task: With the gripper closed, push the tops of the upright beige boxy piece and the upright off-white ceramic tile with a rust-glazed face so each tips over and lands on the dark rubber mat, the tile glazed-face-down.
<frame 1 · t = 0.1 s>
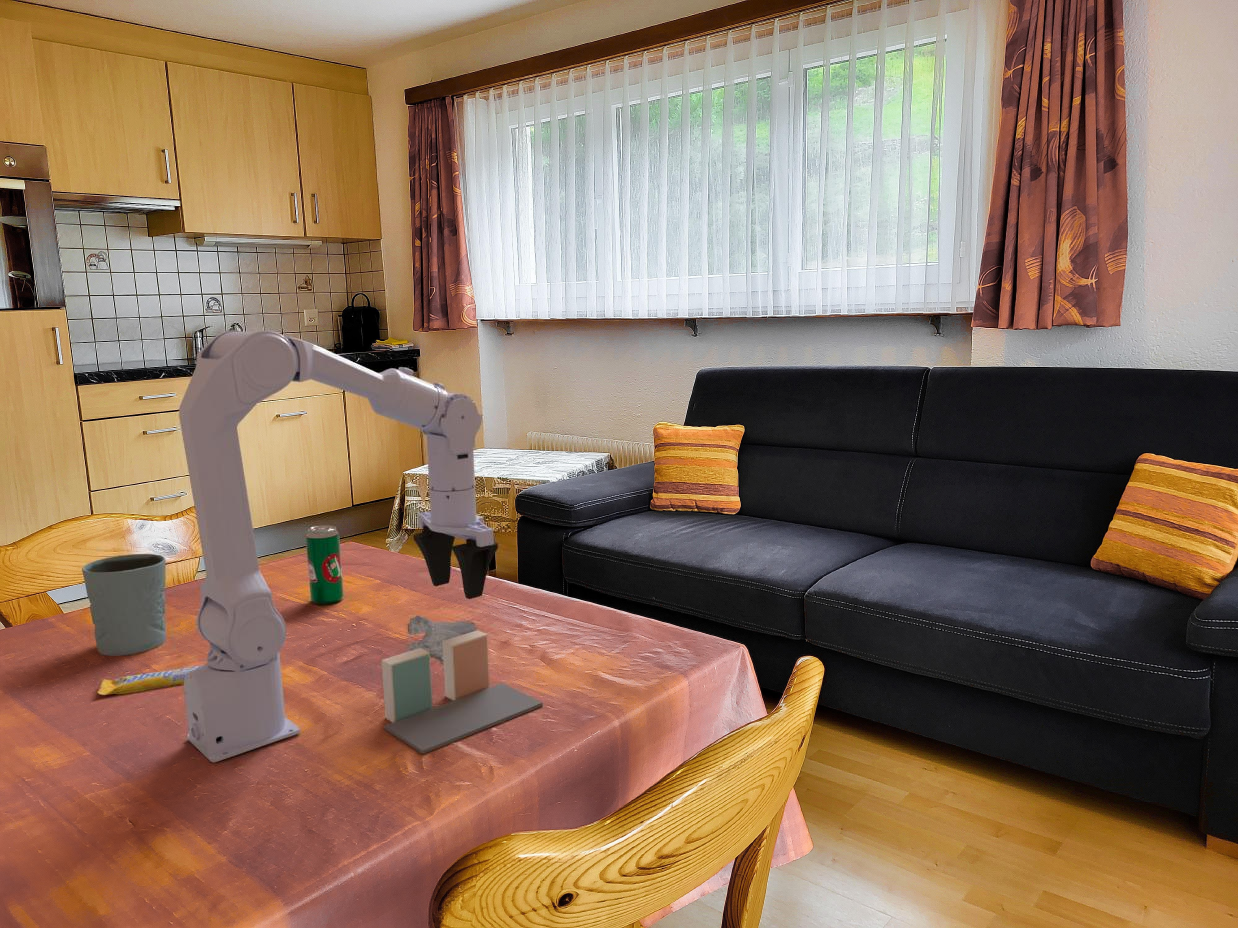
hand: (457, 590, 114), 10 cm above the table, tool pointing down, fingers open, 7 cm apart
candy bar: (176, 685, 112), on the table
grey green cup: (134, 645, 125), on the table
beige boxy piece: (409, 713, 102), on the table
soda can: (327, 601, 143), on the table
mat: (465, 717, 100), on the table
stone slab: (441, 646, 124), on the table
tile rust: (467, 692, 107), on the table
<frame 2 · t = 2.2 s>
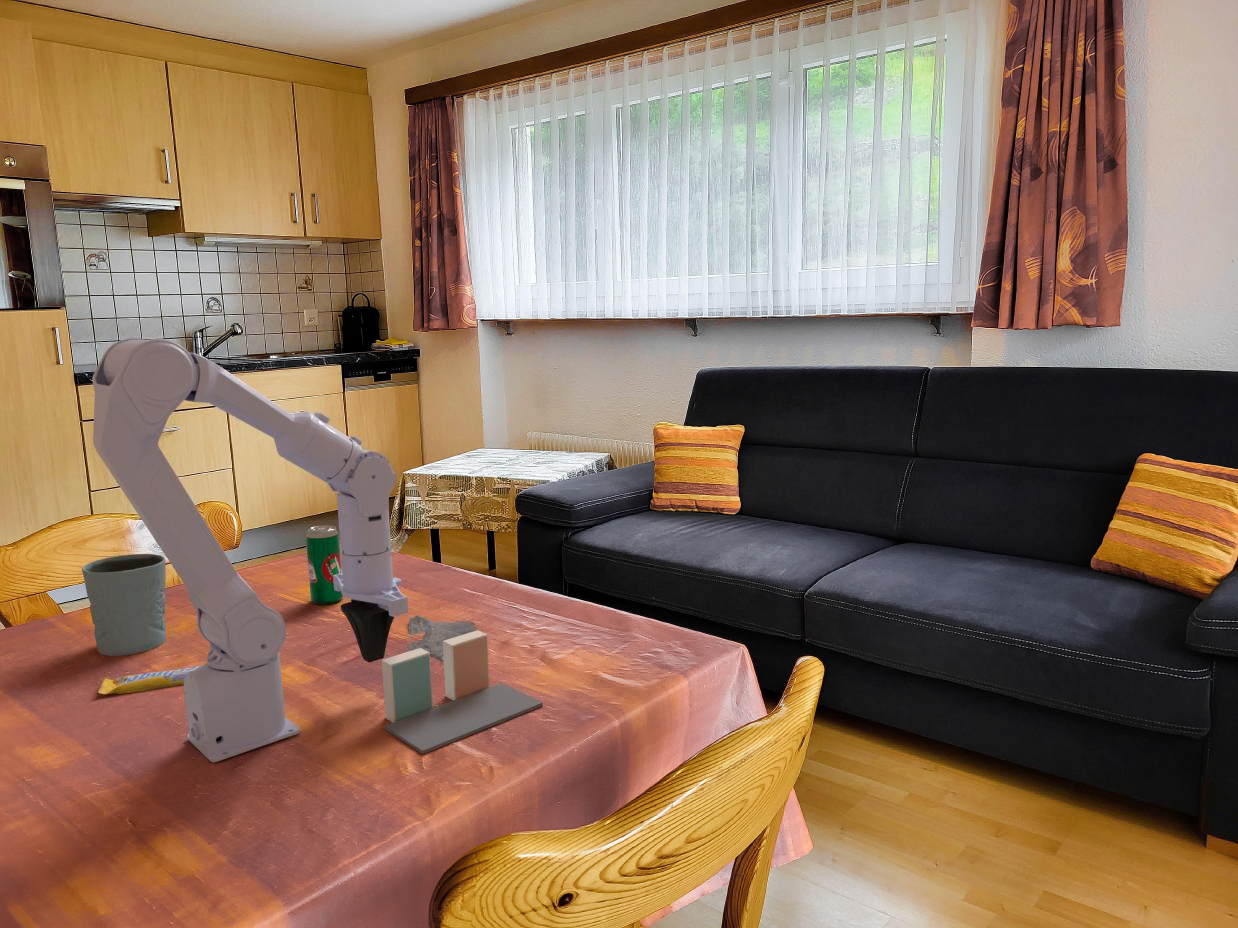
hand: (373, 658, 107), 4 cm above the table, tool pointing down, fingers closed
nothing on the table moved.
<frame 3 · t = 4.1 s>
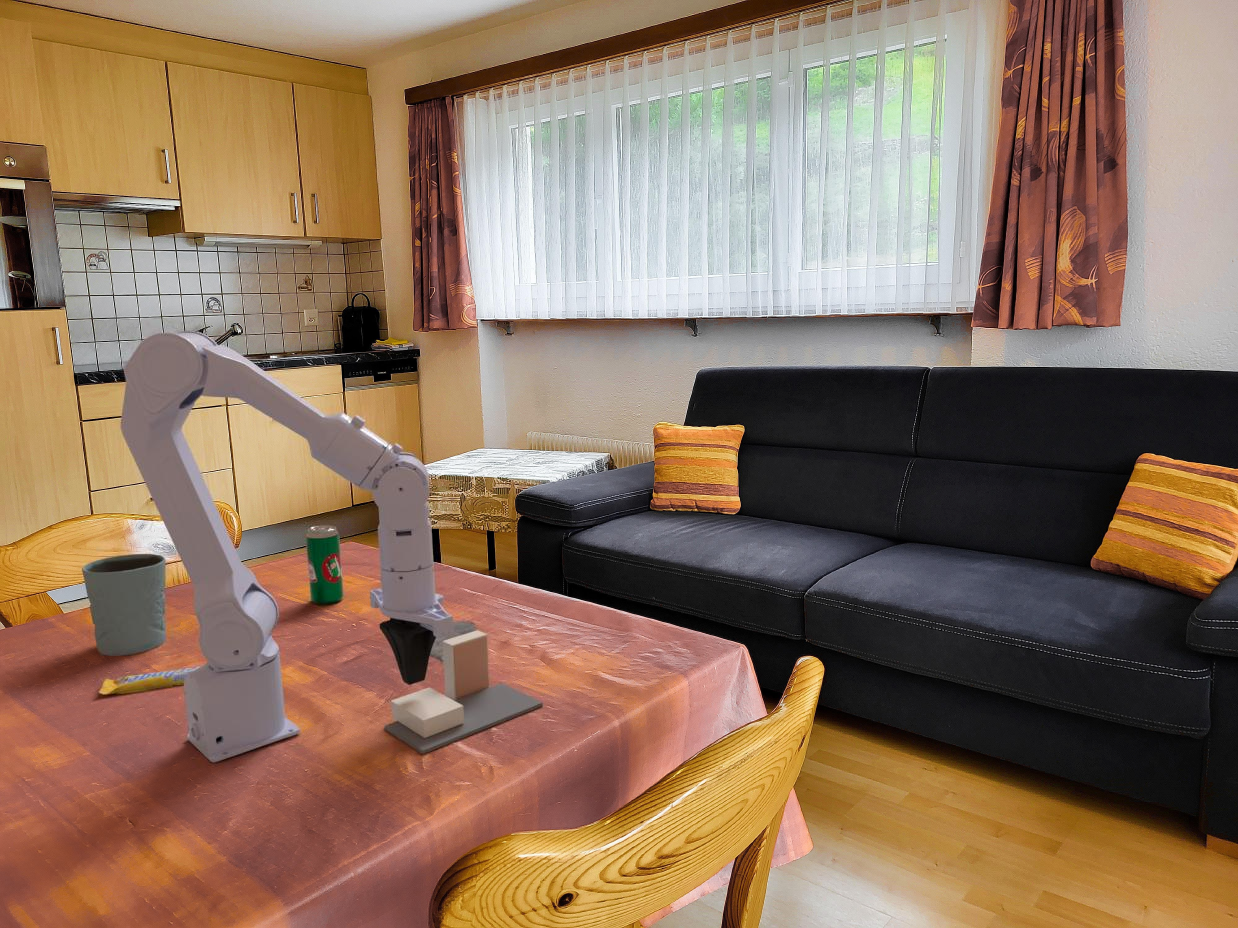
hand: (414, 680, 100), 4 cm above the table, tool pointing down, fingers closed
beige boxy piece: (410, 701, 101), point 2 cm above the table, tilted 90°, touching mat
everything else where it was.
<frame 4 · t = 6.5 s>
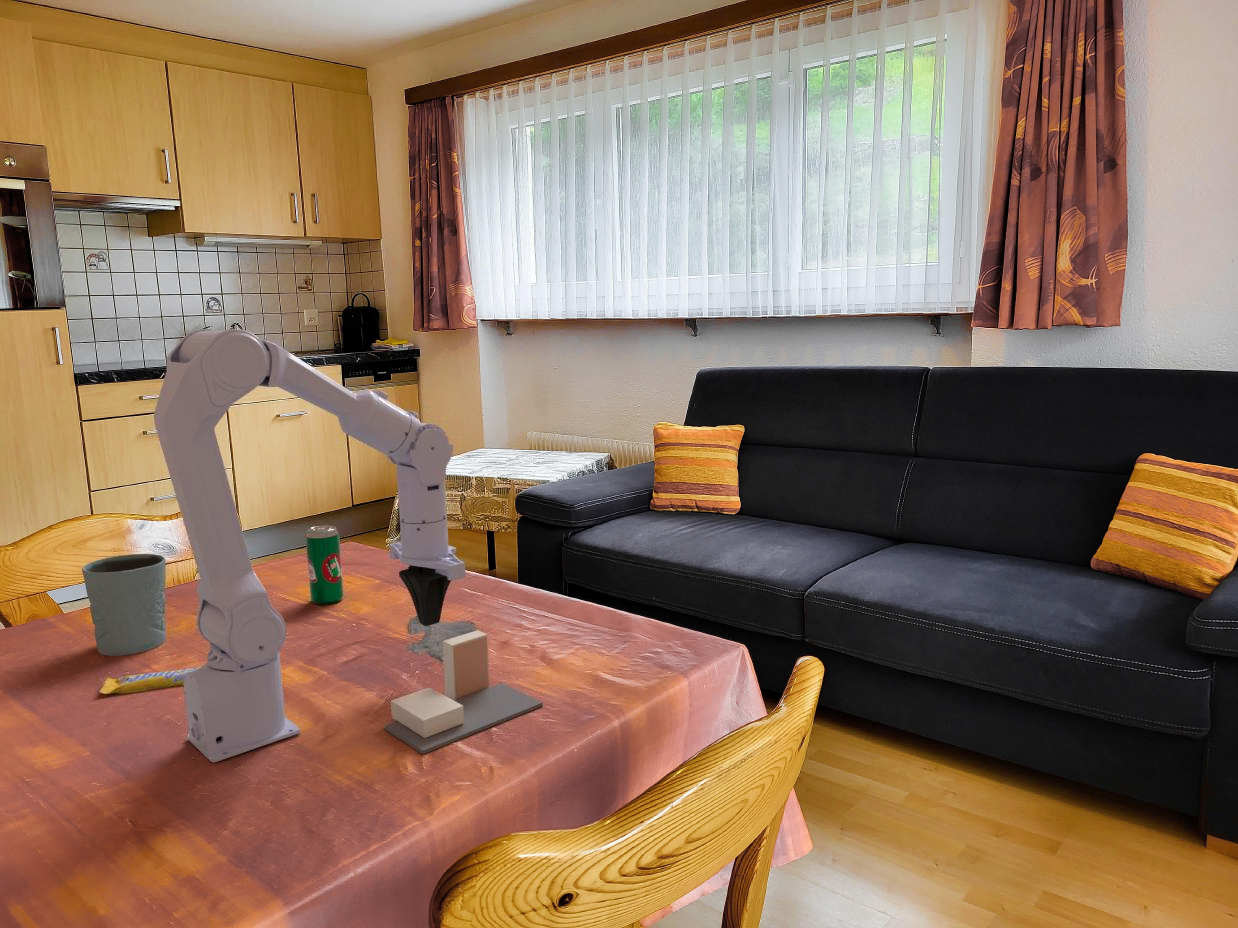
hand: (429, 623, 112), 7 cm above the table, tool pointing down, fingers closed
nothing on the table moved.
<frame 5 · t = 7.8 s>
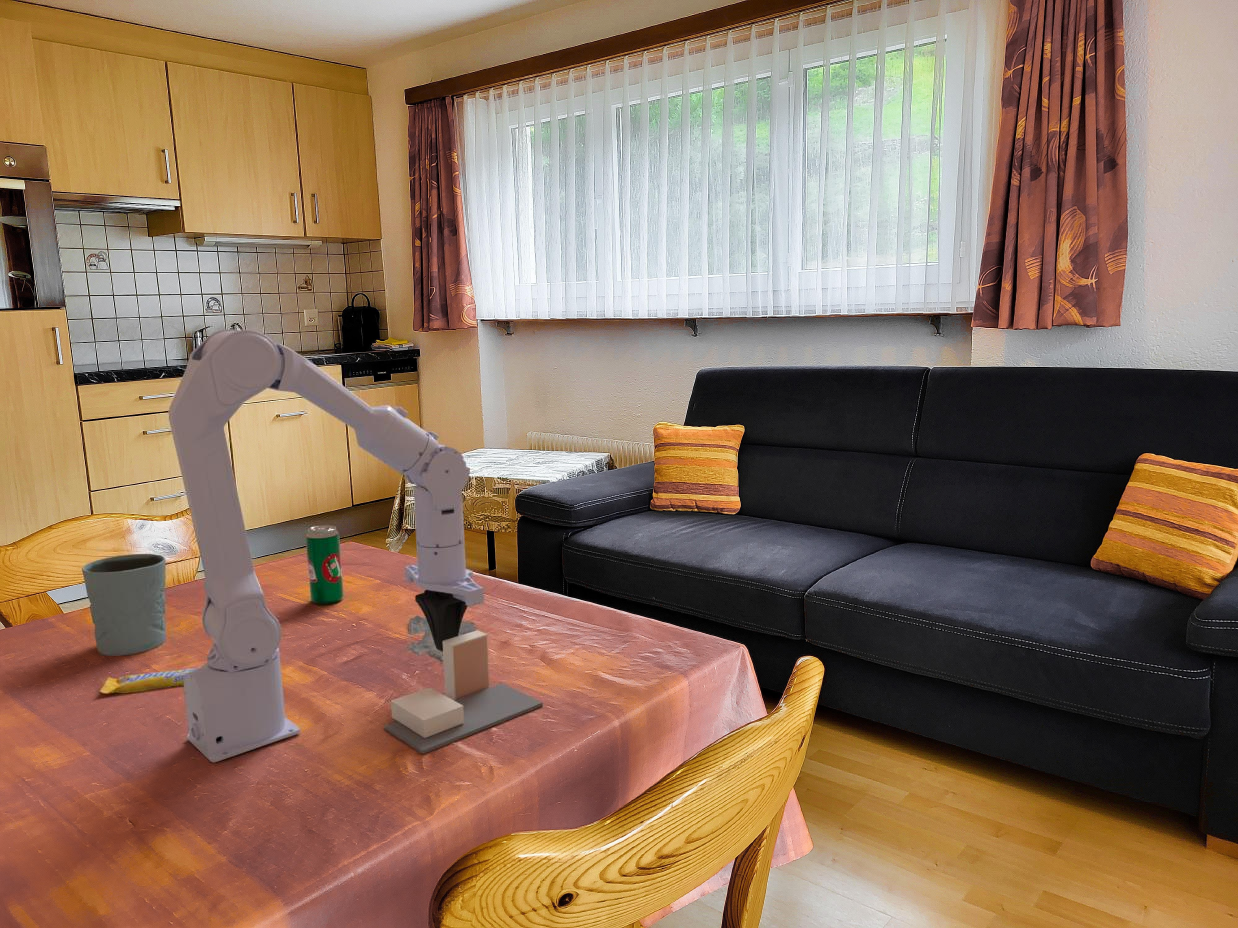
hand: (446, 648, 109), 4 cm above the table, tool pointing down, fingers closed
nothing on the table moved.
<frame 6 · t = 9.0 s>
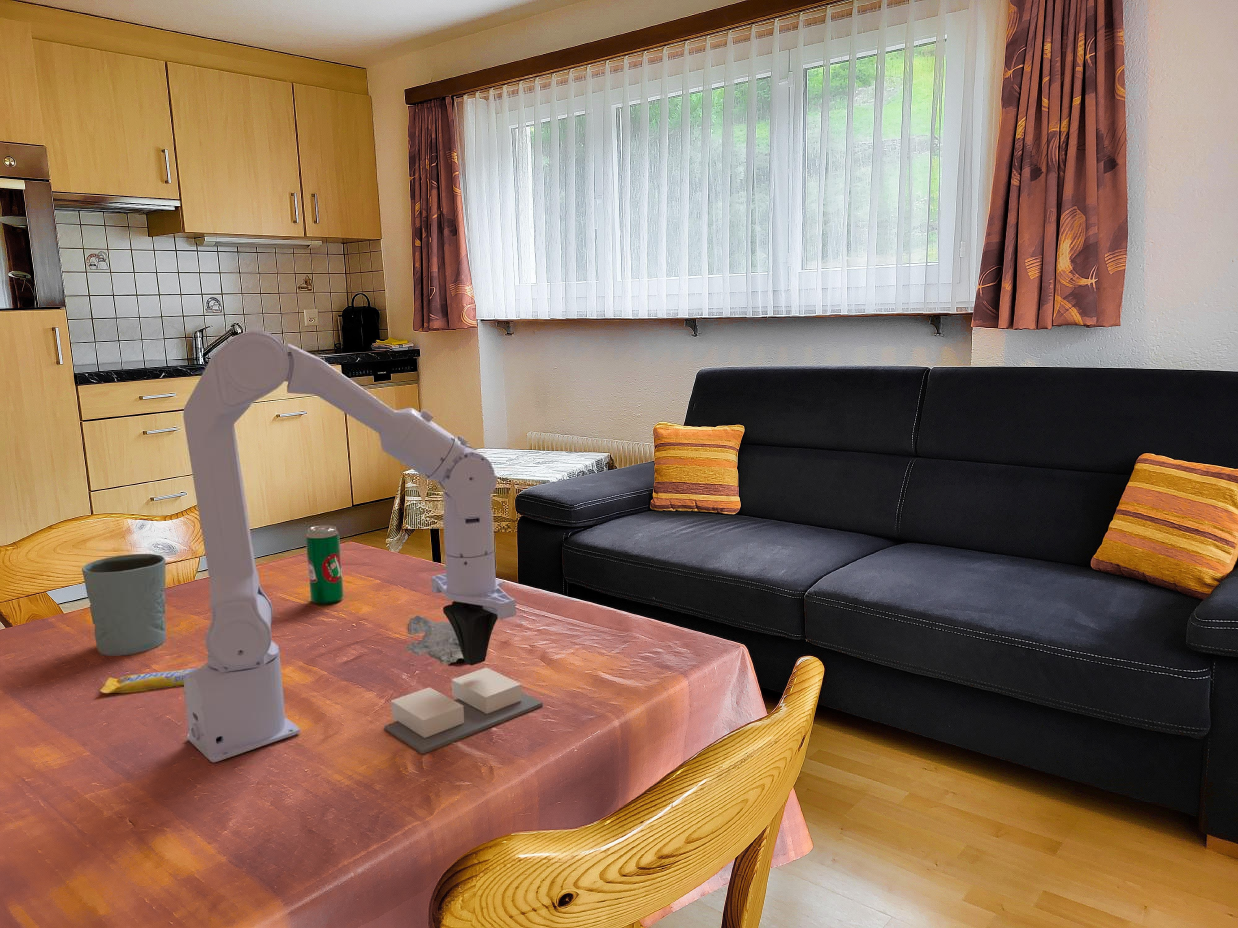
hand: (475, 661, 105), 4 cm above the table, tool pointing down, fingers closed
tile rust: (469, 681, 106), point 2 cm above the table, tilted 90°, touching mat
everything else where it was.
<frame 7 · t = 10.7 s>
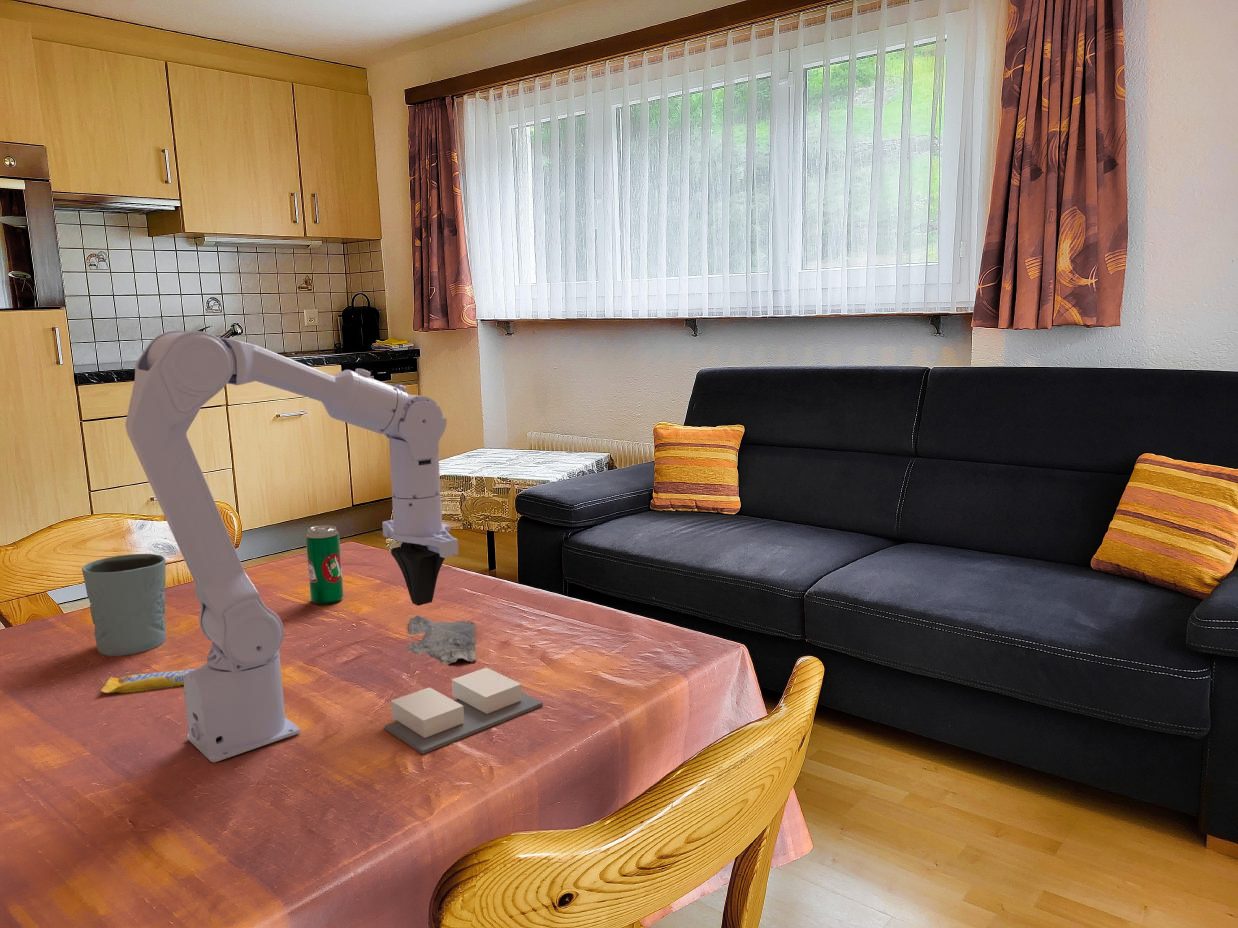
hand: (422, 602, 109), 10 cm above the table, tool pointing down, fingers closed
nothing on the table moved.
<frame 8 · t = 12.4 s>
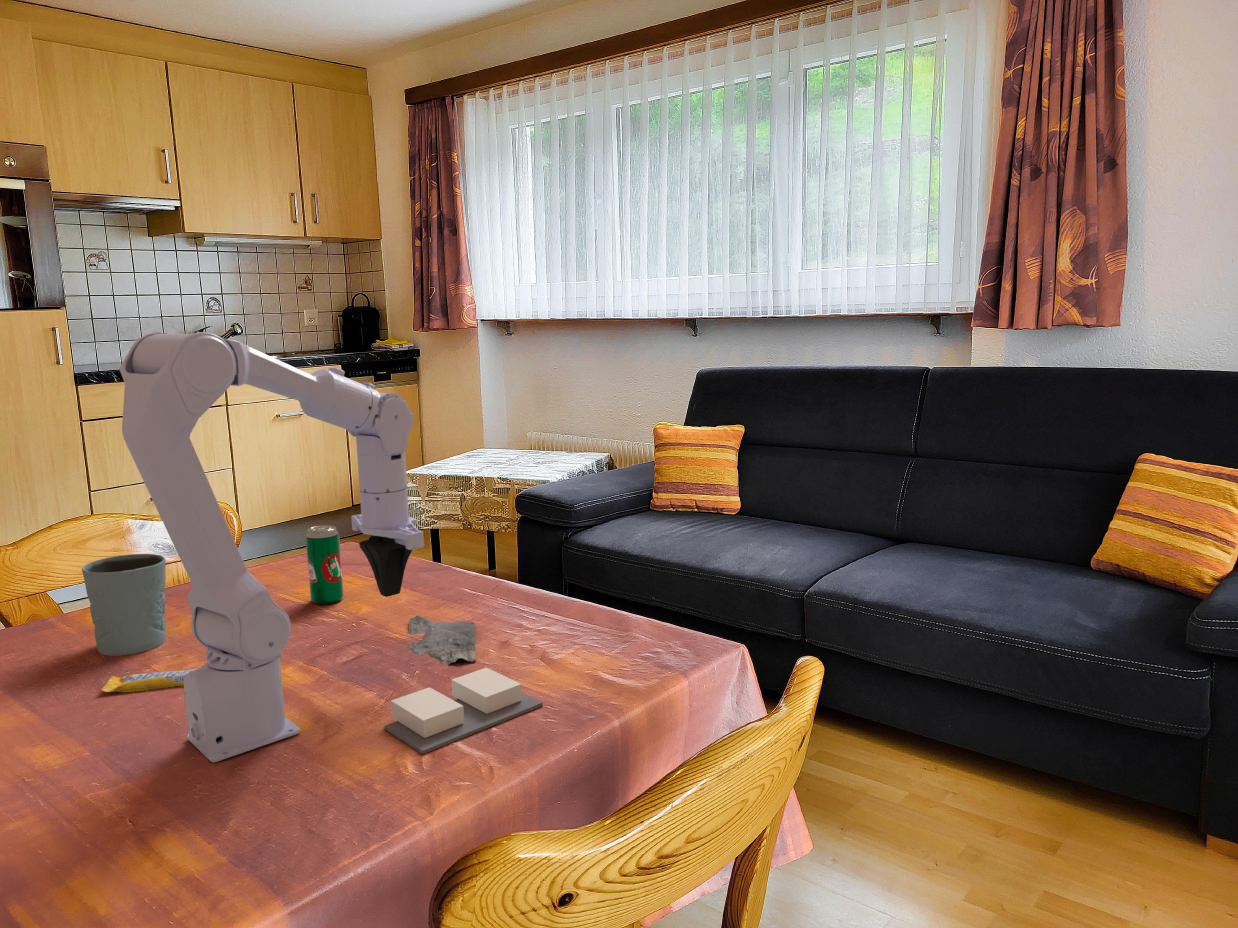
hand: (390, 594, 112), 10 cm above the table, tool pointing down, fingers closed
nothing on the table moved.
at the end: beige boxy piece tilted 90°; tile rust tilted 90°; beige boxy piece inside the target area (1.5 cm from its centre), point 1.5 cm above the table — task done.
